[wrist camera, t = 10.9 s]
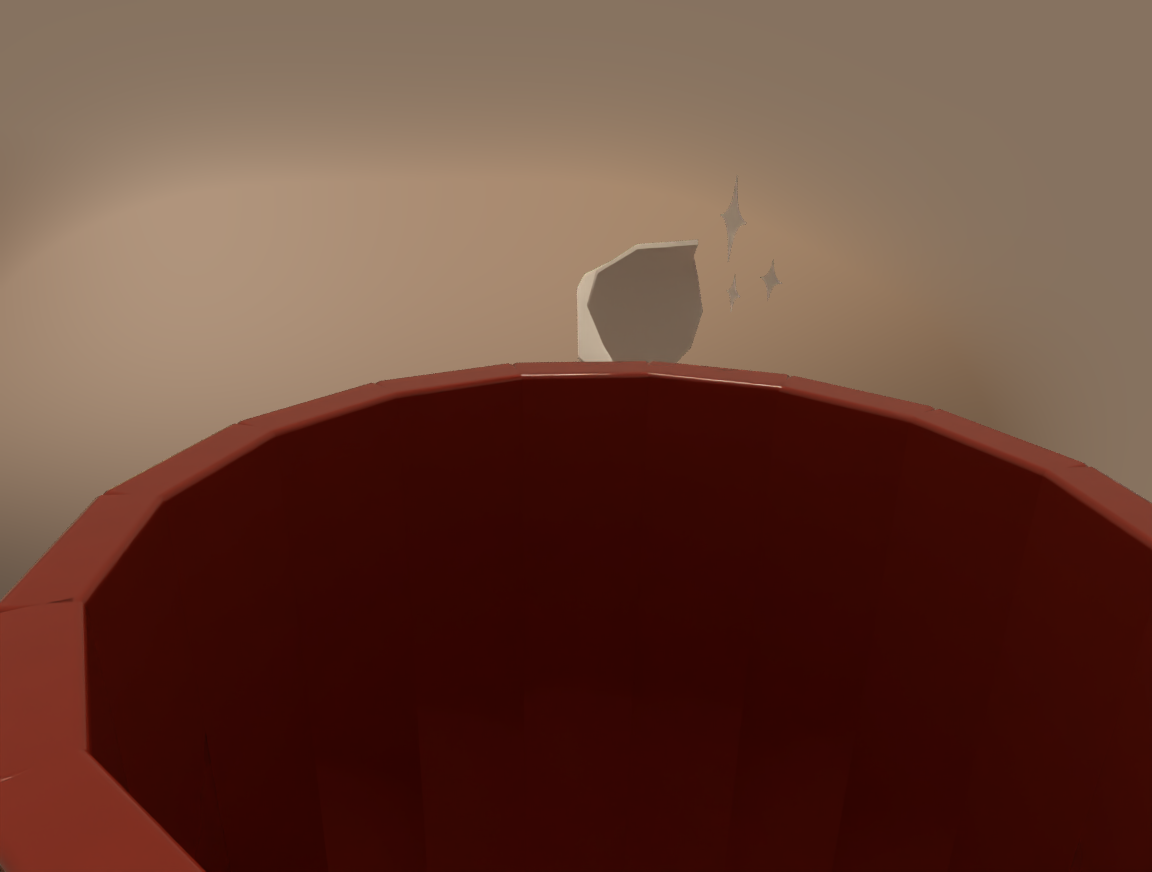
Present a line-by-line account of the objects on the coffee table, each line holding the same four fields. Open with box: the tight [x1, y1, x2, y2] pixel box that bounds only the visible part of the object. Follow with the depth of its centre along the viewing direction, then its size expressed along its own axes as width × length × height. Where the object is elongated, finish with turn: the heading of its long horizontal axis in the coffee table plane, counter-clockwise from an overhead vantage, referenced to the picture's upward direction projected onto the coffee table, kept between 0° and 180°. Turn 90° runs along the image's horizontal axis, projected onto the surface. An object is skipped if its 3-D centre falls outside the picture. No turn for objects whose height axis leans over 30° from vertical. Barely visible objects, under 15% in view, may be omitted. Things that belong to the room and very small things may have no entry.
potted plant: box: [577, 177, 782, 363], centre depth 43 cm, size 13×12×25 cm
